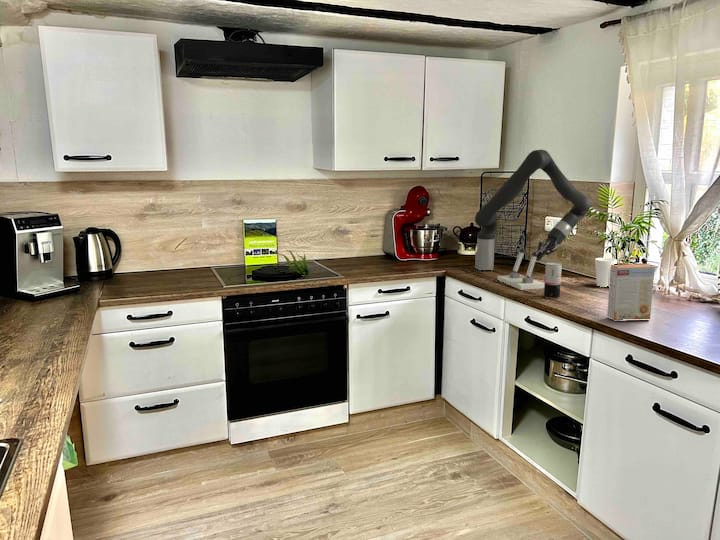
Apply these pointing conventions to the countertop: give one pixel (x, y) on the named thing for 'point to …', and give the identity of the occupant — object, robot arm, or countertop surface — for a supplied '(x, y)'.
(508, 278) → the switch base
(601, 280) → the foam cup
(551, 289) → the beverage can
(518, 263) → the lever
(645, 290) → the cracker box
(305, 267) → the decorative plant
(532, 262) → the lever
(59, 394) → the countertop surface
